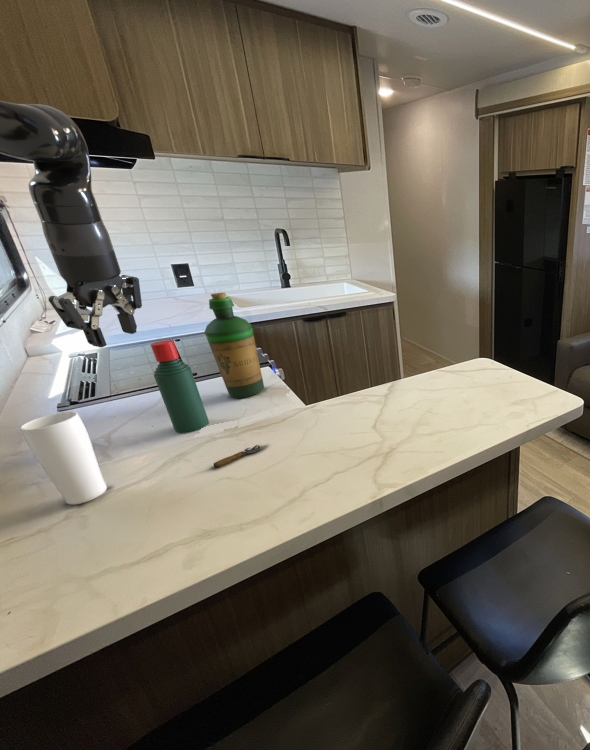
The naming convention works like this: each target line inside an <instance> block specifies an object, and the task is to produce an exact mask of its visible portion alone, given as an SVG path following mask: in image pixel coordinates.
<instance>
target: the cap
mask: <svg viewBox="0 0 590 750" xmlns="http://www.w3.org/2000/svg"><path fill="white" fill-rule="evenodd" d="M150 347H151V350H152V353H153V355H154V358H155V360H156V362H158V363H159V362H165V361H170V360H174V359H179V358H180V356H179V353H178V349H177V347H176V344H175V342H174V340H173V339H168V340H161V341H156V342H153V343H150Z"/></svg>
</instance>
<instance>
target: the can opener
mask: <svg viewBox="0 0 590 750" xmlns="http://www.w3.org/2000/svg"><path fill="white" fill-rule="evenodd" d="M264 446H265V445H262V446H260V445H259V444H255V445H254V446H253V447H251V448H250V447H246V448H245V449H244V450H242V451H239V452H237V453H234V454H232V455H230V456H226V457H223V458H222V459H219V460H217V461H215V462H213V467H214V468H216V469H217V468H220V467H222V466H225V465H227V464H229V463H231V462H234V461H235V460H237V459H239V458H242V457H244V456H245V455H246V454H254V453H257V452H259V451H261V450H262V449H263V448H264Z"/></svg>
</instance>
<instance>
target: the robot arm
mask: <svg viewBox="0 0 590 750" xmlns="http://www.w3.org/2000/svg"><path fill="white" fill-rule="evenodd" d="M89 153H90V152H89V149H88V145H87V141H86V139H85V137H84V135H83V133H82V131H81V129H80V128H79V126H78V124H77V123H76V122H75V121H74V120H73V118H71V117H70V116H68V115H67V114H66V113H64V112H63V111H62V110H60V109H58V108H56V107H53V106H50V105H47V104H41V103H14V102H8V101H3V100H0V154H1V155H4V156H8V157H11V158H15V159H18V160H24V161H28V162H32V163H33V168H34V175H33V177H32V178H31V179H30V180H29V182H28V191H29V195H30V197H31V200H32V203H33V206H34V208H35V210H36V213H37V215H38V218H39V220H40V223H41V228H42V232H43V235H44V238H45V241H46V243H47V246H48V248H49V251H50V253H51V256H52V258H53V260H54V264H55V266H56V268H57V270H58V273H59V276H60V277H61V278H62V279H63V280H64V282H65V283H66V290H65V291H66V292H64V293H62V294H61V295H59V296H56V295H50V296H49V297H48V302H49V303H50V305H51V306H52V308H53V309H54V310H55V312H56V314H57V315H58V316H59V318H60V320H61V321H62V322H63V324H64V325H65V326H66V327H67V328H71V329H76V330H80V331H83V334H84V336H85V339H86V341H87V343H88V344H89V345H91V346H93V347H97V348H104V347H106V346H107V341H106V339H105V336H104V334H103V331H102V329H101V327H99V326H100V325H99V324H100V317H102V315H103V309H104V308H106V307H107V306H111V307H112V308H113V309H114V310H115V311H116V312H117V314H116V316H117V319H118V322H119V325H120V328H121V330H122V332H123V333H125V334H130V335H134V334H136V333H137V332H138V331H137V328H138V325H137V322H136V319H135V316H134V315H135V310H137V309H142V307H143V302H142V296H141V295H142V294H141V285H140V279H139V278H138V277H137V276H133V275H126V274H122V271H121V267H120V265H119V261H118V257H117V255H116V252H115V249H114V245H113V242H112V239H111V236H110V233H109V231H108V229H107V227H106V225H105V223H104V221H103V218H102V215H101V212H100V209H99V206H98V202H97V199H96V197H95V194H94V192H93V186H92V170H91V162H90V154H89ZM121 274H122V275H121ZM75 301H76V303H75ZM89 308H92V309H89Z"/></svg>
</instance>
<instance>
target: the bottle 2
mask: <svg viewBox="0 0 590 750" xmlns="http://www.w3.org/2000/svg"><path fill="white" fill-rule="evenodd" d="M210 297H211V298H210V299H208V308H209V310H212V312H213V314H214V317H215V318H214V319H212V320H211V321H209V323H208V324H207V325H206V327H205V330H204V334H205V337H206V340H207V342H208V345H209V347H210V350H211V352H212V355H213V358H214V360H215V362H216V366H217V368H218V371H219V373H220V375H221V378H222V381H223V384H224V386H225V388H226V390H227V393H228V396H229V397H231V398H234V399H244V398H249V397H253V396H255V395H258V394H260V393H261V392H263V391H264V389H265V384H264V379H263V374H262V371H261V366H260V365H261V364H260V359H259V356H258V351H257V346H256V341H255V336H254V332H253V331H254V330H253V327H252V324H251V323H250V322H249V321H248V320H247V319H245V318H242V317H240V316H237V315H234V314H235V313H234V309H233V308H234V307H235V303H234V302H233V300H232V298H231V297H230V296H227V293H226V292H215V293H211V294H210Z"/></svg>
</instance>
